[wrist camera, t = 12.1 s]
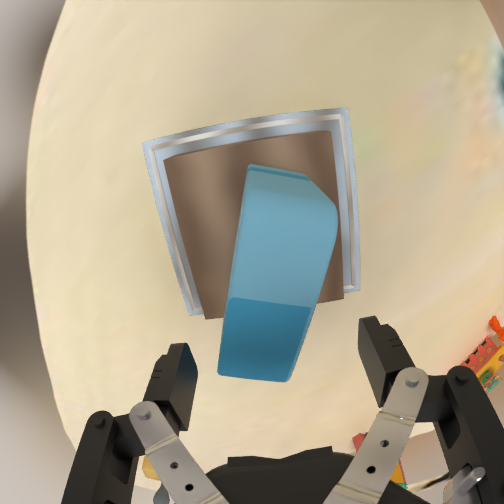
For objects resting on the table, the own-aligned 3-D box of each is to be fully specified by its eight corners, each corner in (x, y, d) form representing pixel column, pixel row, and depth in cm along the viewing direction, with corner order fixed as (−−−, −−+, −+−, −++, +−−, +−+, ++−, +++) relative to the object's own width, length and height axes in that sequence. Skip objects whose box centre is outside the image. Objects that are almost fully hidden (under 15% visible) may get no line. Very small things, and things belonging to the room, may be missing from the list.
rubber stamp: (188, 463, 53) (182, 509, 42) (189, 472, 55) (184, 515, 44) (144, 455, 52) (134, 499, 41) (148, 465, 54) (139, 506, 43)
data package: (248, 160, 24) (245, 193, 13) (303, 170, 24) (345, 211, 13) (227, 289, 29) (215, 385, 18) (274, 295, 29) (285, 392, 18)
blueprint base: (345, 108, 26) (361, 105, 22) (357, 286, 34) (370, 309, 30) (144, 142, 28) (126, 146, 23) (190, 311, 35) (183, 337, 31)
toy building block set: (352, 437, 48) (366, 497, 36) (491, 310, 37) (538, 363, 24) (387, 445, 51) (403, 496, 38) (510, 334, 40) (548, 381, 27)
